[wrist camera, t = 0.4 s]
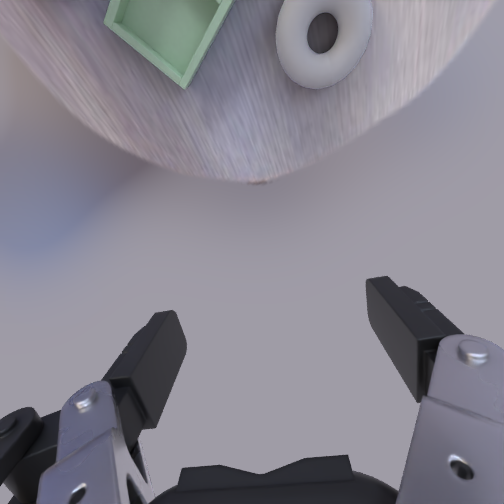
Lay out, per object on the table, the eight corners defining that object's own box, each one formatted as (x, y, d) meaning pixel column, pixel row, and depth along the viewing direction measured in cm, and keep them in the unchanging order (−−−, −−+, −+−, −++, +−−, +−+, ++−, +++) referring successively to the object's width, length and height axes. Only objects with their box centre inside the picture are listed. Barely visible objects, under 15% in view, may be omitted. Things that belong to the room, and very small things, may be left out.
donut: (340, -65, 24) (255, 23, 28) (352, -77, 21) (257, 22, 25) (379, 44, 29) (303, 105, 33) (392, 44, 27) (308, 111, 30)
